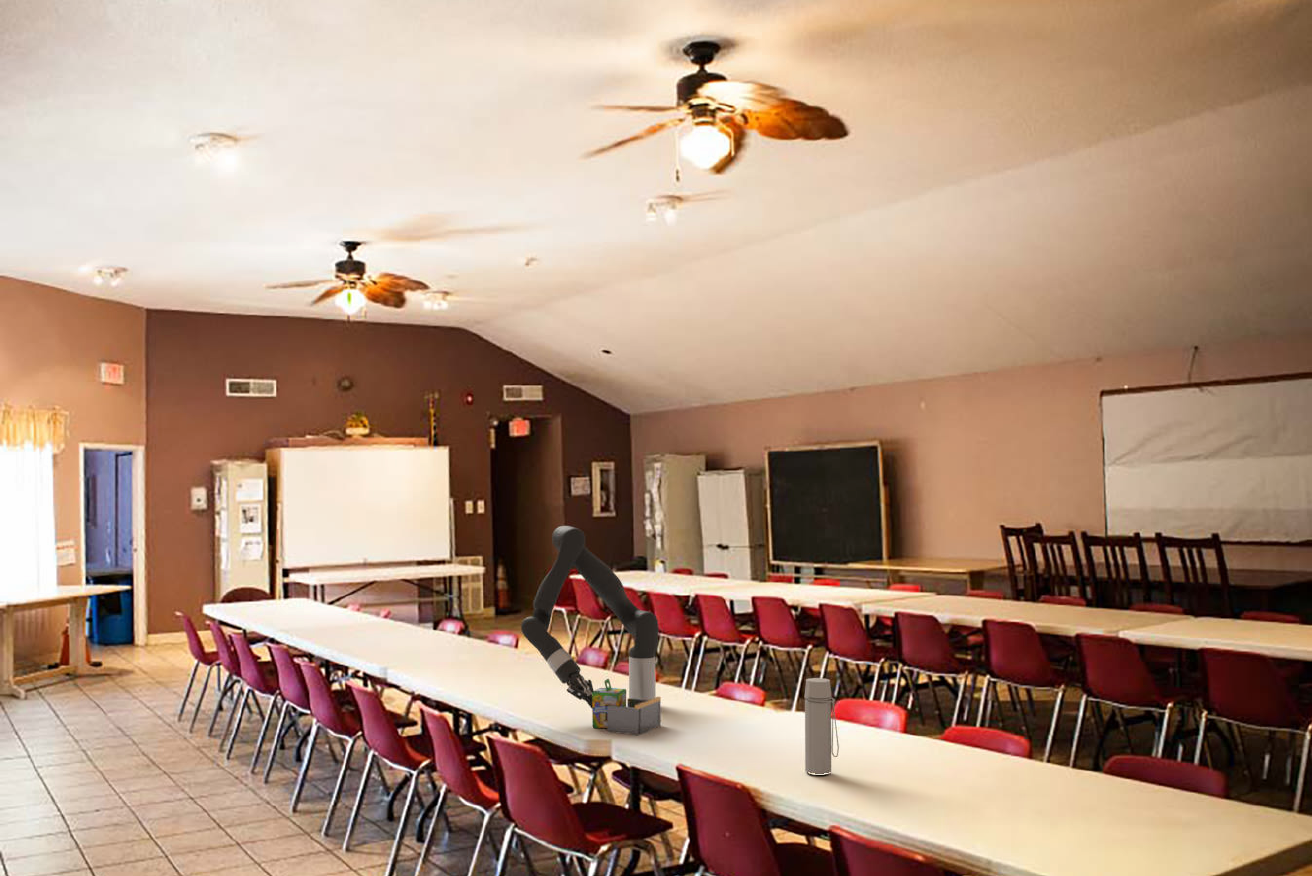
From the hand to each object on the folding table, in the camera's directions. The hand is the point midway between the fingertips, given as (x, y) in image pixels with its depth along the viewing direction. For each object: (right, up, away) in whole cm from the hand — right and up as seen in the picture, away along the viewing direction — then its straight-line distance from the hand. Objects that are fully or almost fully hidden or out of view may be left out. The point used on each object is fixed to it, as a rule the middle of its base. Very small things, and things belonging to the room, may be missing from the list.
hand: (595, 706), depth 371 cm
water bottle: (+64, -3, -63) cm, 90 cm away
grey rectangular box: (+13, -6, -7) cm, 16 cm away
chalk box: (+5, -6, -3) cm, 8 cm away
